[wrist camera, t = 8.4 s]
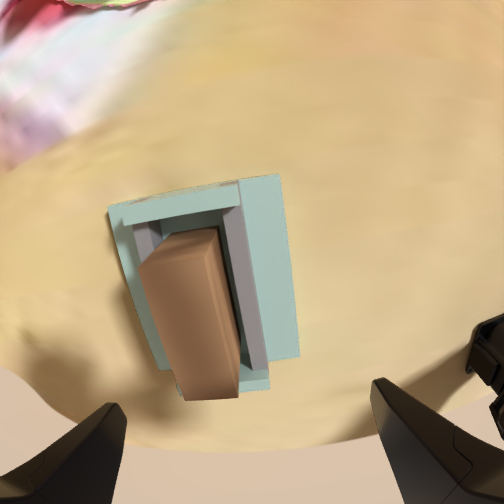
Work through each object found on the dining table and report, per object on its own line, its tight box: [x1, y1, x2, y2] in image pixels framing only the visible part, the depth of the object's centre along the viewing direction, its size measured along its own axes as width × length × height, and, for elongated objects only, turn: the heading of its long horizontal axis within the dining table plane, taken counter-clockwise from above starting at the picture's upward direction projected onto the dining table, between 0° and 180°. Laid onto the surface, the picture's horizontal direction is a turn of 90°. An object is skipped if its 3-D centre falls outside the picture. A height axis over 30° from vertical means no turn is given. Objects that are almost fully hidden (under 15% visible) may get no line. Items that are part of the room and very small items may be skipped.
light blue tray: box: [107, 174, 300, 396], centre depth 18 cm, size 11×13×4 cm
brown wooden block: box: [138, 225, 241, 401], centre depth 16 cm, size 3×8×6 cm, turn 9°
